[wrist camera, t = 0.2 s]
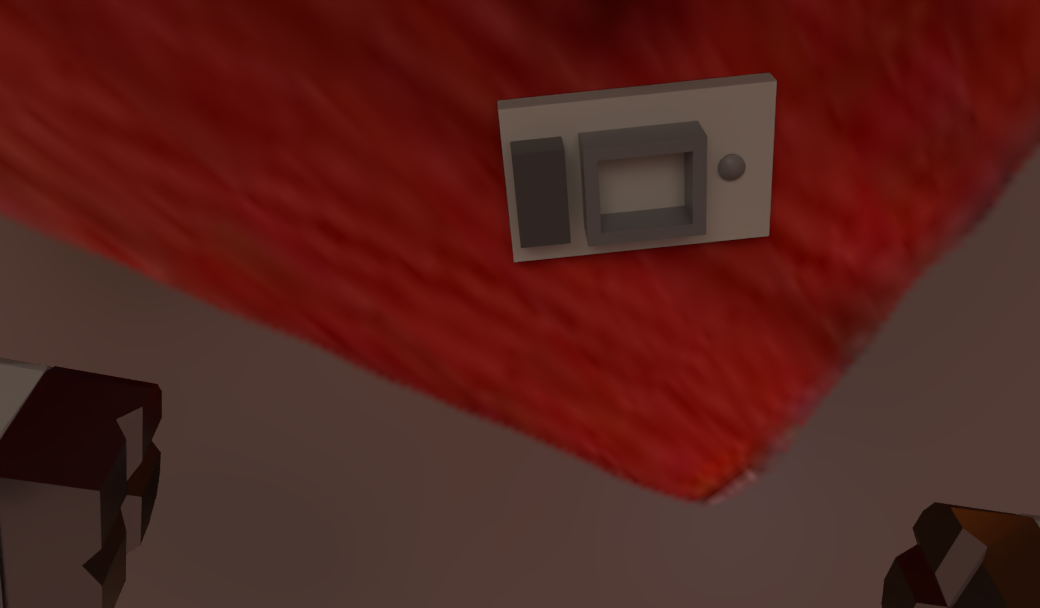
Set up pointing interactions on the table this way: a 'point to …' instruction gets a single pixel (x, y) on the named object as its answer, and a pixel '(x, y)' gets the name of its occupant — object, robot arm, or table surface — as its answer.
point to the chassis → (639, 166)
